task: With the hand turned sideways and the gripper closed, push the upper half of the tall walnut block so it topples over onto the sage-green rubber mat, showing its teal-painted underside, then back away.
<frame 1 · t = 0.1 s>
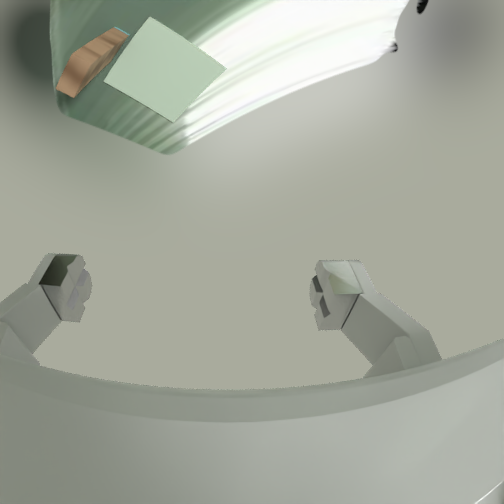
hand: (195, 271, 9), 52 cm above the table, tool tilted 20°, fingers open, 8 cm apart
walnut block: (113, 43, 38), on the table
green mat: (161, 71, 46), on the table
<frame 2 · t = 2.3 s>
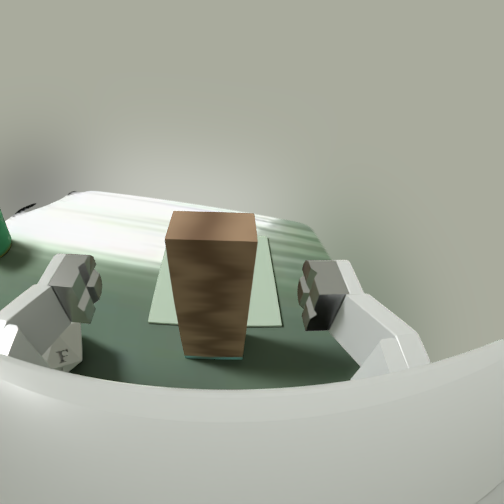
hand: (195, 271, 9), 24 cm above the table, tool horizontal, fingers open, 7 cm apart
walnut block: (213, 345, 34), on the table
green mat: (216, 273, 43), on the table
die: (66, 357, 28), on the table
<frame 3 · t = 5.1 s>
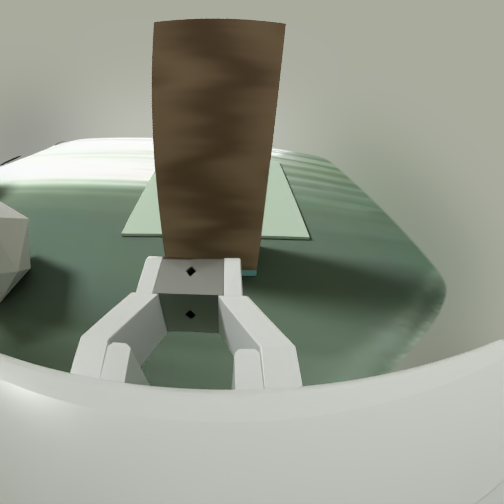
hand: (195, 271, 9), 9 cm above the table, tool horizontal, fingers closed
walnut block: (212, 258, 23), on the table
green mat: (217, 188, 33), on the table
die: (8, 282, 18), on the table
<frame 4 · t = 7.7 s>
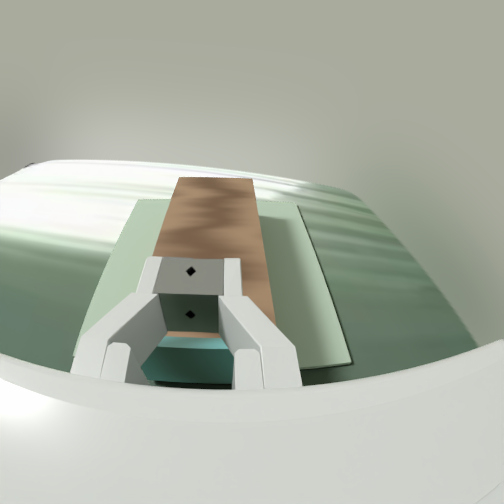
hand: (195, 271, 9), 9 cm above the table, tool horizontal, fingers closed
walnut block: (205, 368, 13), point 2 cm above the table, tilted 90°, touching green mat
green mat: (211, 261, 23), on the table
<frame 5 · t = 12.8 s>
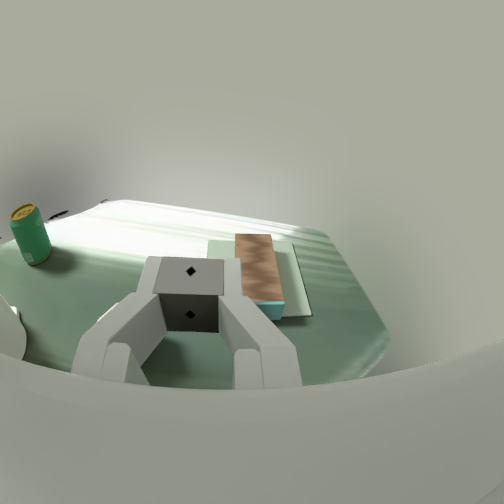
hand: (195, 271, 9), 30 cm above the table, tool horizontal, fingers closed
beverage can: (39, 255, 50), on the table
walnut block: (260, 312, 43), point 2 cm above the table, tilted 90°, touching green mat
green mat: (253, 274, 53), on the table
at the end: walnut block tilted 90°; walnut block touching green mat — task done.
